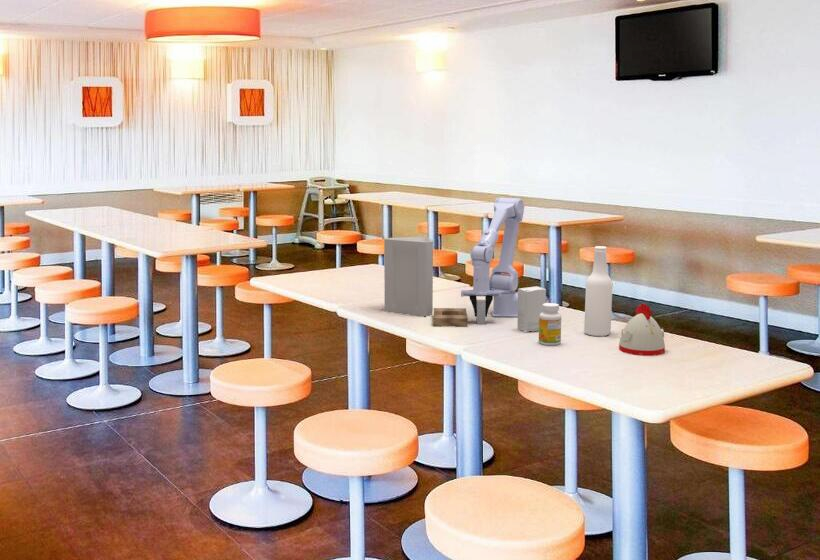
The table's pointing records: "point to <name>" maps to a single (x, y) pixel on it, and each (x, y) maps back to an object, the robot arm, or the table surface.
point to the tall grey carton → (409, 275)
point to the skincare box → (530, 307)
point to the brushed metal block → (480, 311)
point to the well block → (450, 317)
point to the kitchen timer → (642, 334)
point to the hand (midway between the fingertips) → (480, 316)
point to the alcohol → (598, 297)
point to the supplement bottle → (550, 324)
